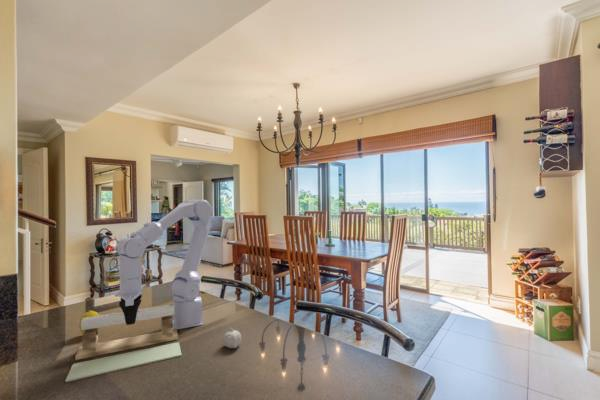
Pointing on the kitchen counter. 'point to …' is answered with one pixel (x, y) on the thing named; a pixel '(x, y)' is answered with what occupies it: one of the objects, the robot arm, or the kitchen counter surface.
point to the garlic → (232, 338)
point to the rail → (120, 319)
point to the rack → (124, 340)
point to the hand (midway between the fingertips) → (131, 322)
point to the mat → (123, 361)
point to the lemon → (87, 314)
